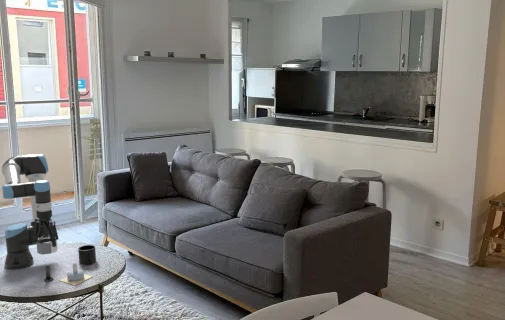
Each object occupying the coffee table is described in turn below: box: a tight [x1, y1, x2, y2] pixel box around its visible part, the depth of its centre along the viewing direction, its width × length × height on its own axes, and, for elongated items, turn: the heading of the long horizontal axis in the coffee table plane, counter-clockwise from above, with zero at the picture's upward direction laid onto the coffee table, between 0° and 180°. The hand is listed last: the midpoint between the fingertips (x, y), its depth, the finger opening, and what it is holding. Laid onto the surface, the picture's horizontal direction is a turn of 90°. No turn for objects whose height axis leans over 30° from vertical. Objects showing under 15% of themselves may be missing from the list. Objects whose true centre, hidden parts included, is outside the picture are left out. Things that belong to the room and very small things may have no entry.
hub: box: [58, 262, 93, 286], centre depth 260 cm, size 12×12×9 cm
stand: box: [43, 264, 54, 283], centre depth 259 cm, size 5×5×8 cm
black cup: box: [77, 244, 97, 266], centre depth 282 cm, size 9×12×9 cm
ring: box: [36, 237, 58, 255], centre depth 256 cm, size 9×9×6 cm
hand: (47, 250), depth 257 cm, fingers closed on ring, 9 cm apart
